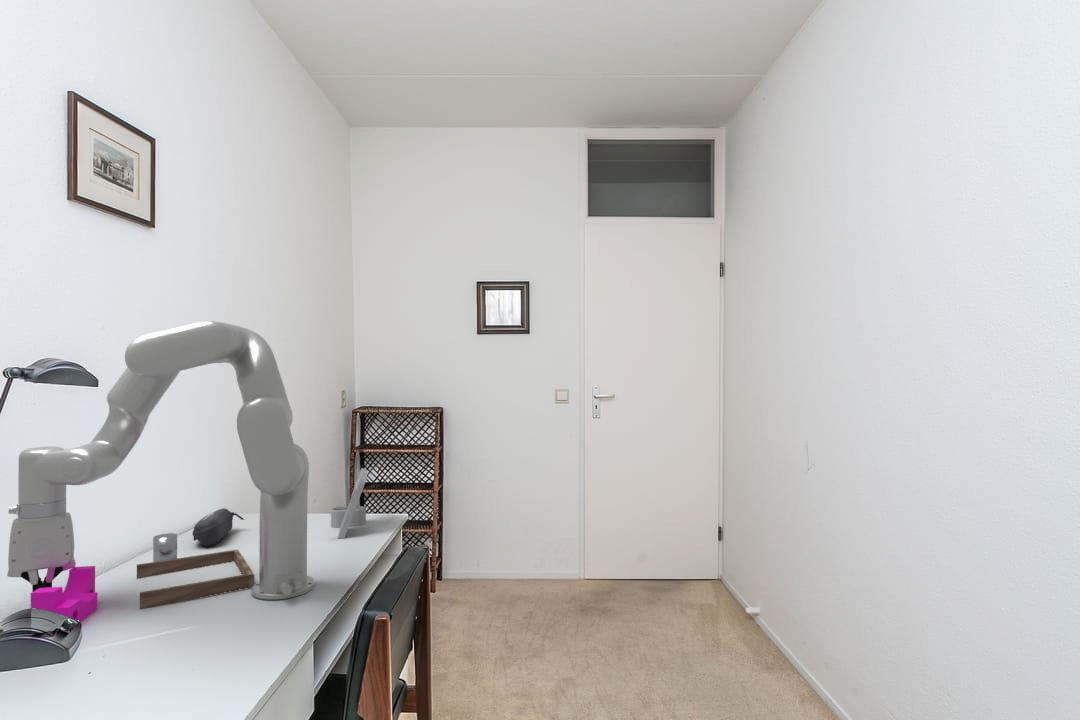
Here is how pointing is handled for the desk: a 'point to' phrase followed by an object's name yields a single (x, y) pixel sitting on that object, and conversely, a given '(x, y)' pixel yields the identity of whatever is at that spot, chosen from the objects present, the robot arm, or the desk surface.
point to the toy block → (70, 595)
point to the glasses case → (214, 527)
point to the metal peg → (164, 547)
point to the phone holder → (350, 509)
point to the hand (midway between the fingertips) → (42, 601)
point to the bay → (194, 589)
